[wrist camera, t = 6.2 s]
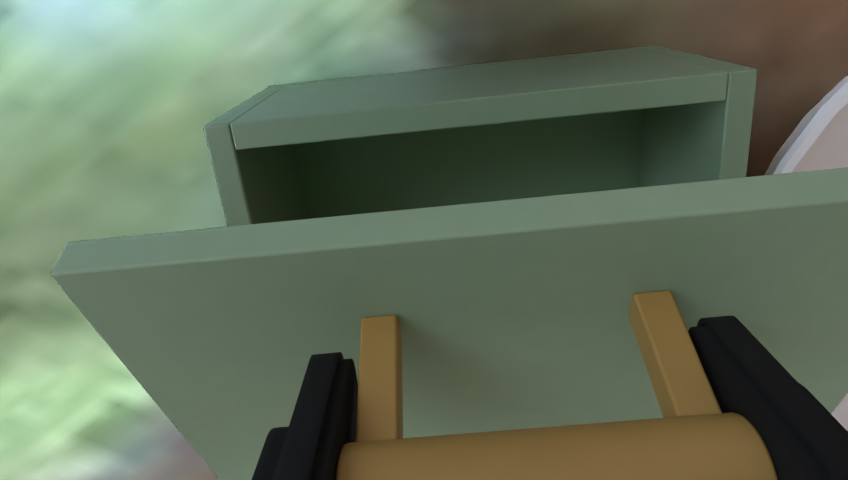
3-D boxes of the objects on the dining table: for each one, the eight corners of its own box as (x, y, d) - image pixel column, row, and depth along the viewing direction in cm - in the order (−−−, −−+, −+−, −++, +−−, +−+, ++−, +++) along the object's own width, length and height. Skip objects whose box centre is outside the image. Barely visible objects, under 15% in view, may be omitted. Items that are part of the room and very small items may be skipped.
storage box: (268, 86, 24) (201, 125, 17) (657, 44, 24) (758, 68, 16) (336, 431, 31) (309, 565, 24) (641, 407, 30) (708, 536, 23)
